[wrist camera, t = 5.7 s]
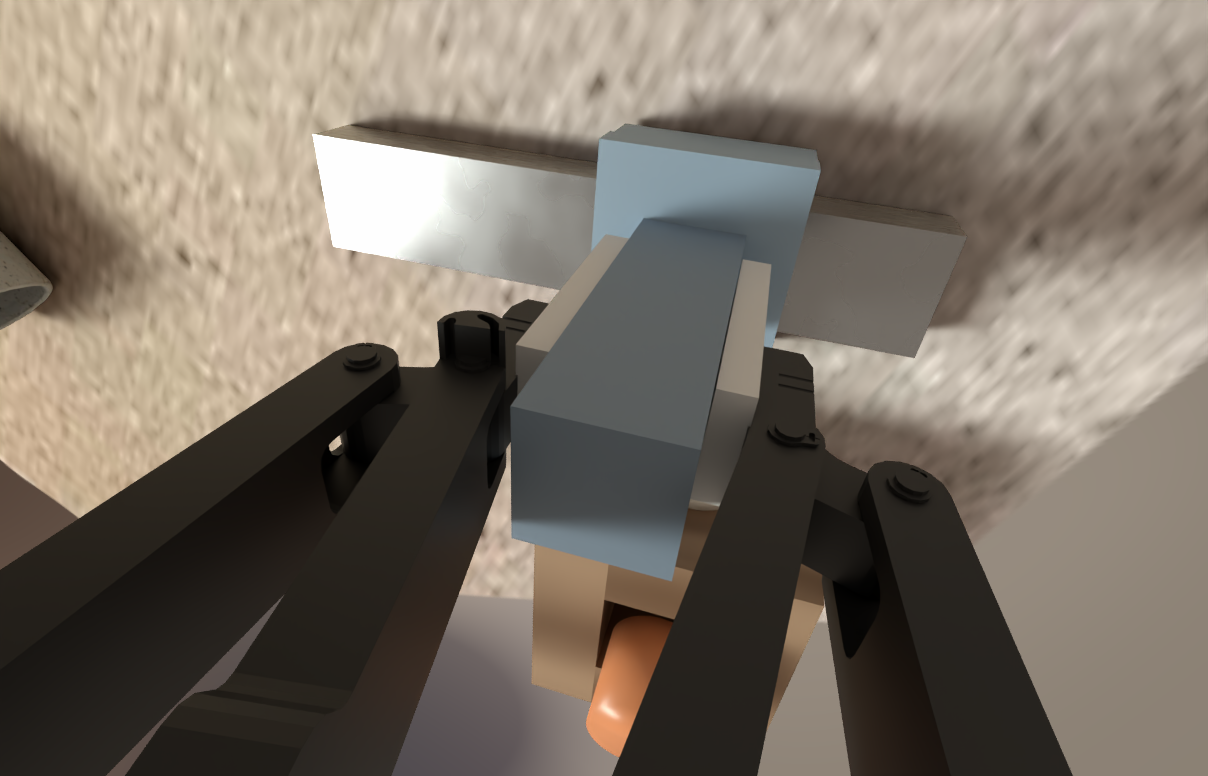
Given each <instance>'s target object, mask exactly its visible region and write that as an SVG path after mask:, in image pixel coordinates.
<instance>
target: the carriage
mask: <svg viewBox="0 0 1208 776" xmlns="http://www.w3.org/2000/svg"><path fill="white" fill-rule="evenodd" d="M820 172H821V168H820V162H819V161H818V158H817V151H816V150H812V149H805V148H798V147H791V146H783V145H776V144H769V143H762V142H754V141H747V140H740V139H733V138H726V137H718V136H711V135H704V134H697V133H689V132H682V131H675V130H668V129H660V128H653V127H646V126H639V125H631V124H624V125H623V126H622V127H620V128H619V129H617V130H616V131H615V132H612V131H610V132H608V133H607V134H605V135H604V136H602V137H601V138H600V139H599V149H598V163H597V177H596V191H595V205H594V219H593V233H592V247H591V252H592V250H593V249H594V248H595V247H596V246H597V244H598V243H599V242H600V241H601V239H602V238H603V237H604V236H605V235H606V234H607V235H613V236H618V237H624V238H629V239H628V241H627V242H626V244H625V245H624V246H623V248H622V249H621V251H620V252H619V254H618V255H617V256H616V258H615V259H614V261H613V262H612V263H611V265H610V266H609V268H608V269H607V270H606V272H605V273H604V275H603V276H602V278H601V279H600V280H599V282H598V283H597V285H596V286H595V287H594V289H593V290H592V292H591V293H590V294H589V296H588V297H587V299H586V300H585V302H584V303H583V304H582V306H581V307H580V309H579V310H578V311H577V313H576V314H575V316H574V317H573V318H572V320H571V321H570V323H569V324H568V326H567V327H566V328H565V330H564V331H563V333H562V334H561V335H560V337H559V338H558V340H557V341H556V342H555V344H554V345H553V347H552V348H551V349H550V351H549V352H548V354H547V355H546V357H545V358H544V359H543V361H542V362H541V364H540V365H539V366H538V368H537V369H536V371H535V372H534V373H533V375H532V376H531V378H530V379H529V381H528V382H527V383H526V385H525V386H524V388H523V389H522V390H521V392H520V393H519V395H518V396H517V397H516V399H515V400H514V402H513V403H512V405H511V406H510V415H511V521H512V538H514V539H517V540H521V541H525V542H528V543H532V544H536V545H539V546H543V547H547V548H551V549H554V550H558V551H562V552H565V553H569V554H573V555H576V556H580V557H584V558H587V559H591V560H595V561H598V562H602V563H606V564H609V565H613V566H617V567H620V568H624V569H628V570H631V571H635V572H639V573H642V574H646V575H650V576H653V577H657V578H661V579H664V580H668V581H672V578H673V574H674V569H675V565H676V560H677V556H678V551H679V547H680V542H681V538H682V533H683V529H684V524H685V520H686V515H687V511H688V507H689V502H690V498H691V493H692V489H693V484H694V480H695V475H696V471H697V466H698V462H699V457H700V453H701V448H702V443H703V439H704V434H705V429H706V425H707V420H708V415H709V410H710V406H711V401H712V396H713V391H714V387H715V382H716V377H717V373H718V368H719V363H720V358H721V354H722V349H723V344H724V340H725V335H726V330H727V325H728V321H729V316H730V312H731V308H732V303H733V299H734V295H735V290H736V286H737V282H738V278H739V273H740V269H741V265H742V260H743V259H744V260H750V261H755V262H761V263H766V264H771V274H770V285H769V295H768V306H767V317H766V327H765V338H764V346H765V347H770V348H772V346H773V343H774V339H775V335H776V332H777V328H778V324H779V321H780V317H781V313H782V310H783V306H784V303H785V299H786V295H787V292H788V288H789V284H790V281H791V277H792V274H793V270H794V266H795V263H796V259H797V255H798V252H799V248H800V244H801V241H802V237H803V234H804V230H805V226H806V223H807V219H808V215H809V212H810V208H811V205H812V201H813V197H814V194H815V190H816V186H817V183H818V179H819V175H820Z"/></svg>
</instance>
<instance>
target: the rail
mask: <svg viewBox="0 0 1208 776" xmlns="http://www.w3.org/2000/svg"><path fill="white" fill-rule="evenodd" d="M313 138H314V143H315V149H316V154H317V160H318V165H319V171H320V176H321V182H322V187H323V193H324V198H325V204H326V209H327V215H328V220H329V226H330V231H331V237H332V243H333V247H339V248H344V249H349V250H354V251H359V252H365V253H370V254H375V255H380V256H385V257H391V258H396V259H401V260H406V261H412V262H417V263H422V264H427V265H432V266H438V267H443V268H448V269H453V270H458V271H464V272H469V273H474V274H479V275H484V276H490V277H495V278H500V279H505V280H510V281H516V282H521V283H526V284H531V285H537V286H542V287H547V288H552V289H557V290H561V288H562V287H563V286H564V285H565V284H566V282H567V281H568V280H569V279H570V277H571V276H572V275H573V274H574V273H575V271H576V270H577V269H578V268H579V266H580V265H581V264H582V263H583V261H584V260H585V259H586V258H587V257H588V255H589V254H590V253H591V247H592V233H593V219H594V205H595V191H596V177H597V162H590V161H584V160H577V159H570V158H564V157H557V156H550V155H544V154H537V153H531V152H524V151H517V150H511V149H504V148H498V147H491V146H484V145H478V144H471V143H464V142H458V141H451V140H445V139H438V138H431V137H425V136H418V135H412V134H405V133H398V132H392V131H385V130H378V129H372V128H365V127H359V126H352V125H347V126H343V127H339V128H335V129H332V130H328V131H324V132H321V133H317V134H313ZM966 239H967V236H966V234H965V233H964V232H963V230H962V229H961V228H960V226H959V225H958V223H957V222H956V221H955V219H954V218H953V217H952V216H947V215H941V214H934V213H928V212H921V211H914V210H908V209H901V208H895V207H888V206H881V205H875V204H868V203H861V202H855V201H848V200H842V199H835V198H828V197H822V196H815V195H814V197H813V201H812V205H811V208H810V212H809V215H808V219H807V223H806V226H805V230H804V234H803V237H802V241H801V244H800V248H799V252H798V255H797V259H796V263H795V266H794V270H793V274H792V277H791V281H790V284H789V288H788V292H787V295H786V299H785V303H784V306H783V310H782V313H781V317H780V321H779V324H778V328H777V332H781V333H787V334H792V335H797V336H802V337H807V338H813V339H818V340H823V341H828V342H833V343H839V344H844V345H849V346H854V347H860V348H865V349H870V350H875V351H880V352H886V353H891V354H896V355H901V356H906V357H912V358H915V356H916V354H917V351H918V349H919V347H920V344H921V342H922V340H923V337H924V335H925V333H926V331H927V328H928V326H929V324H930V321H931V319H932V317H933V314H934V312H935V310H936V308H937V305H938V303H939V301H940V298H941V296H942V294H943V291H944V289H945V287H946V285H947V282H948V280H949V278H950V275H951V273H952V271H953V268H954V266H955V264H956V262H957V259H958V257H959V255H960V252H961V250H962V248H963V245H964V243H965V241H966Z"/></svg>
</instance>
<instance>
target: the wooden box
mask: <svg viewBox="0 0 1208 776" xmlns="http://www.w3.org/2000/svg"><path fill="white" fill-rule="evenodd" d="M718 509H719V506H716V505H712V504H708V503H704V502H700V501H696V500H692V499H690V502H689V507H688V511H687V515H686V520H685V524H684V529H683V533H682V538H681V542H680V547H679V551H678V556H677V560H676V565H675V569H674V574H673V578H672V581H668V580H664V579H661V578H657V577H653V576H650V575H646V574H642V573H639V572H635V571H631V570H628V569H624V568H620V567H617V566H613V565H609V564H606V563H602V562H598V561H595V560H591V559H587V558H584V557H580V556H576V555H573V554H569V553H565V552H562V551H558V550H554V549H551V548H547V547H543V546H539V545H536V544H535V557H534V602H533V604H534V605H533V647H532V648H533V649H532V684H535V685H538V686H541V687H544V688H547V689H550V690H554V691H557V692H560V693H563V694H566V695H569V696H573V697H575V698H579V699H582V700H585V701H588V702H591V703H592V699H593V696H594V693H595V689H596V686H597V682H598V679H599V675H600V672H601V669H602V665H603V662H604V658H605V655H606V651H607V648H608V645H609V641H610V638H611V634H612V631H613V629H614V627H615V625H616V624H617V623H619V622H620V621H621V620H623V619H626V618H628V617H633V616H653V617H658V618H662V619H665V620H668V621H670V622H674V619H675V617H676V614H677V612H678V609H679V607H680V604H681V602H682V599H683V597H684V594H685V592H686V589H687V587H688V584H689V582H690V579H691V576H692V574H693V571H694V569H695V566H696V564H697V561H698V559H699V556H700V554H701V551H702V549H703V546H704V544H705V541H706V539H707V536H708V534H709V531H710V529H711V526H712V524H713V521H714V519H715V516H716V514H717V511H718ZM823 608H824V594H823V588H822V574H820V573H818V572H816V571H814V570H812V569H810V568H809V567H807V566H805V565H803V564H801V567H800V572H799V577H798V581H797V586H796V591H795V596H794V601H793V605H792V610H791V615H790V620H789V625H788V630H787V634H786V639H785V644H784V649H783V654H782V658H781V663H780V668H779V673H778V678H777V682H776V687H775V692H774V697H773V702H772V706H771V711H770V716H769V721H768V726H767V729H768V727H769V725H770V723H771V721H772V718H773V716H774V714H775V712H776V710H777V708H778V705H779V703H780V701H781V699H782V697H783V695H784V692H785V690H786V688H787V686H788V684H789V682H790V679H791V677H792V675H793V673H794V671H795V669H796V666H797V664H798V662H799V660H800V658H801V656H802V653H803V651H804V649H805V647H806V645H807V643H808V640H809V638H810V636H811V634H812V632H813V629H814V628H815V625H816V623H817V621H818V619H819V617H820V615H821V612H822V610H823ZM766 731H767V730H766Z"/></svg>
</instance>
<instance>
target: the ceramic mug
mask: <svg viewBox="0 0 1208 776" xmlns="http://www.w3.org/2000/svg"><path fill="white" fill-rule="evenodd" d="M52 290H53V286H52V284H51V282H50V281H49V280H48V279H47V278H46V277H45V276H44V275H43V274H42V273H41V272H40V271H39V270H38V269H37V268H36V267H35V266H34V265H33V264H32V263H31V262H30V261H29V260H28V259H27V258H26V257H25V256H24V255H23V254H22V253H21V252H20V251H19V250H18V249H17V248H16V246H15V245H14V244H13V243H12V242H11V241H10V240H9V239H8V238H7V237H6V236H5V235H4V234H3V233H2V232H1V231H0V330H1V329H3V328H5V327H7V326H9V325H11V324H12V323H14V322H15V321H17V320H19V319H21V318H22V317H24V316H26V315H27V314H29V313H31V312H32V311H33V310H34V309H35V308H36V307H38V306H39V305H40V304H41V303H43V302H44V301H45V300H46V299H47V298H48V296H49V295H50V294H51V292H52Z"/></svg>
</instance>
